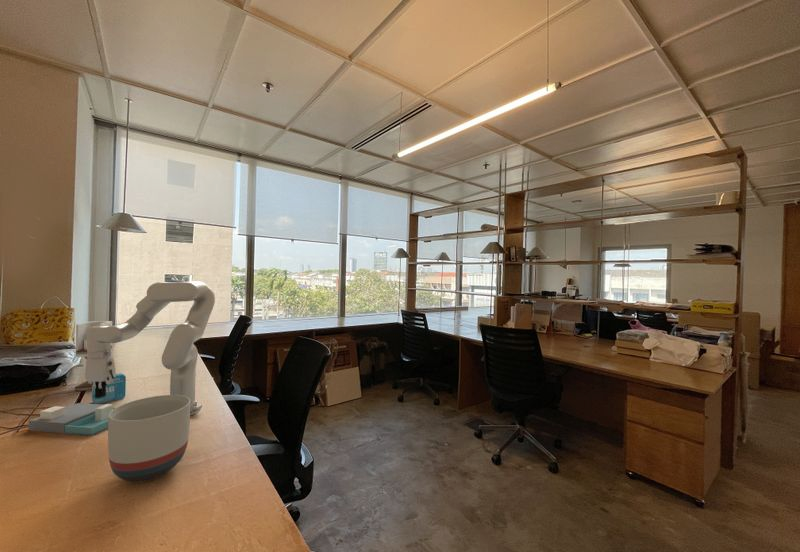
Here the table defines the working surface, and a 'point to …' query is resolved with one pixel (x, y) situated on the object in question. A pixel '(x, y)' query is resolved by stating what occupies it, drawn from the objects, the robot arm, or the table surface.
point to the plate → (63, 418)
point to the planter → (148, 436)
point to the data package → (112, 390)
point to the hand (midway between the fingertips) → (100, 396)
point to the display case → (85, 346)
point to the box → (87, 426)
